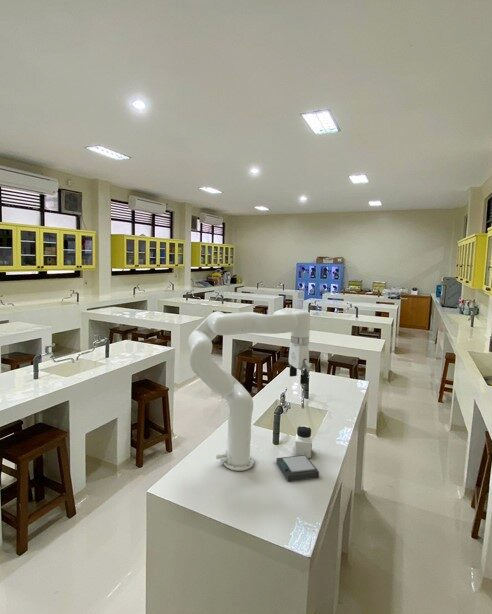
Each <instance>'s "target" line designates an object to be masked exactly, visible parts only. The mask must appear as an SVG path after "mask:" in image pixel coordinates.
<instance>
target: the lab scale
mask: <svg viewBox="0 0 492 614" xmlns="http://www.w3.org/2000/svg"><path fill="white" fill-rule="evenodd" d="M275 464H276V465H277V467H278V468H279V470H280V472H281V473H282V475H283V476H284V478H285V479H286V481H287V482H293V481H294V482H295V481H302V480H310V479H319V476H320V471H319V470H318V468H317V467H316V466H315V465H314V464H313V463H312V461H311V460H310V458H307V456H306V455H300V456H295V455H290V456H283V457H282V456H281V457H276V461H275Z"/></svg>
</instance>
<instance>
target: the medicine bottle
mask: <svg viewBox="0 0 492 614" xmlns="http://www.w3.org/2000/svg"><path fill="white" fill-rule="evenodd" d="M296 428H297V429H296V434H295V439H294V440H295V441H294V456H300V455H306V456H307V458H308V459H311V458H312V451H313V449H312V448H313V436H312V429H311V427H310V426H308V425H299V426H297V427H296Z"/></svg>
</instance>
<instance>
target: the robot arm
mask: <svg viewBox="0 0 492 614" xmlns="http://www.w3.org/2000/svg"><path fill="white" fill-rule="evenodd" d="M310 329H311V313H310V312H309V310H308V311H307V310H301V309H300V310H299V309H298V310H285V309H278V310H276V311H275V312H273V313H272V314H265V313H259V312H255V311H242V312H229V313H224V312H222V311H220V310H219V311H218V310H216V311H214V312H212V313H210V314H209V315H208V316H207V317H206V318H205V319H204V320H202V321H201V323H200V324H199V325H198V326H197V327H196V328H195V329H194V330H193V331H192V332H191V333H190V334H189V336H188V338H187V339H188V340H187V344H188V347H189V349H190V353H189V366H190V367H191V370H192V372H193V373H194V374H196V376H197V377H198V378H199V379H200V380H201V381H202V382H203V383H204V384H205V385H206V386H207V387H209V389H210V390H212V392H213V393H214V394H215V395H217V396H219V397H222V398H223V399H224V400H225V402H226V403H227V405H228V407H229V411H228V412H229V413H228V417H227V449H226V450H225V452H223V453H218V454H215V459H216V460H219V462H223V465H224V466H225V467H226V468H227V469H229V470H231V471H237V472H241V471H246V470H249V469H251V468H252V467H253V466H254V463H255V461H254V458H253V457H252V456H251V440H252V439H251V437H252V436H251V435H252V418H253V417H252V416H253V411H254V400H253V397H252V395H251V394H250V393H249V391H248V390H247V389H246V388H245V386H244V385H243V384H241V382H239V380H237V379H236V378H235V376H233V375H232V374H231V373H230V372H229V371H228V370H227V369H226V368H224V367H222V366H219V365H218V364H217V362H215V361H214V360H213V358H212V352H213V343H212V341H213V340H214V339H215V338H216V337H217V336H232V335H233V336H235V335H243V334H245V335H246V334H256V335H257V334H259V335H260V334H267V335H268V334H269V335H272V334H273V335H277V334H288V333H290V343H289V351H288V364H289V377H291V378H292V377H297V376H298V370H300V375H299V377H300V378H299V379H300V380H299V383H300V384H301V385H305V384H306V385H307V384H308V383H309V374H310V372H311V369H312V368H311V367H312V366H311V364H310V348H309V347H310V346H309V345H310Z"/></svg>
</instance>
